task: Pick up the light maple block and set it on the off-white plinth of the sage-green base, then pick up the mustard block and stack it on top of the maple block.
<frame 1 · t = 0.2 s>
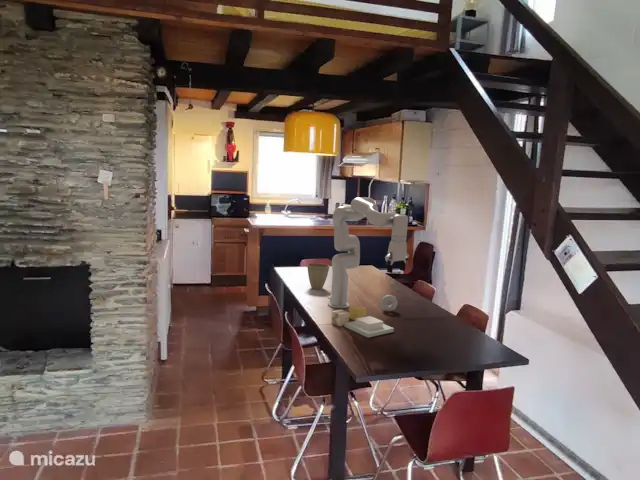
hand: (395, 271, 250), 31 cm above the table, tool pointing down, fingers open, 9 cm apart
donut: (388, 311, 285), on the table
mustard block: (357, 318, 268), on the table
maple block: (339, 323, 258), on the table
base: (368, 329, 252), on the table
plant pot: (316, 288, 327), on the table
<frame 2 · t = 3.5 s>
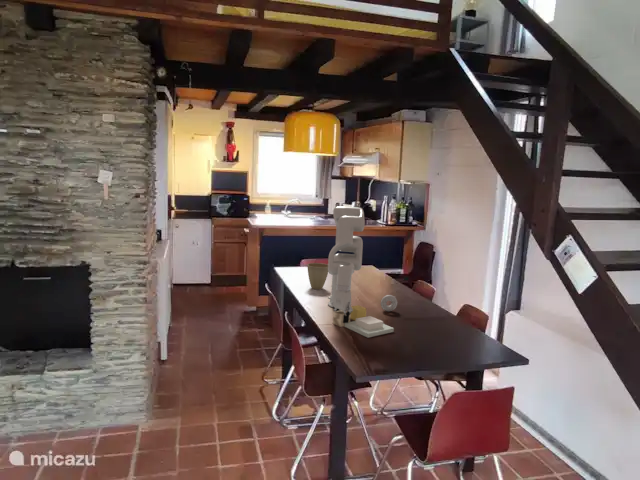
hand: (341, 320, 256), 2 cm above the table, tool pointing down, fingers closed on maple block, 6 cm apart
maple block: (341, 324, 257), on the table, touching gripper
everything else where it was.
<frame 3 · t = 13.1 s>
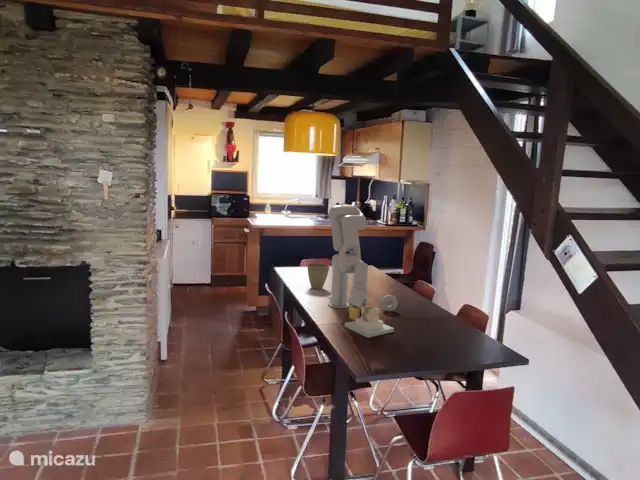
hand: (357, 316, 268), 1 cm above the table, tool pointing down, fingers closed on mustard block, 6 cm apart
mustard block: (357, 318, 268), on the table, touching gripper
maple block: (369, 319, 251), point 5 cm above the table, touching base
everything else where it was.
when the fingers open (14 cm above the table, at t = 17.9 s): mustard block drops 1 cm, resting on maple block.
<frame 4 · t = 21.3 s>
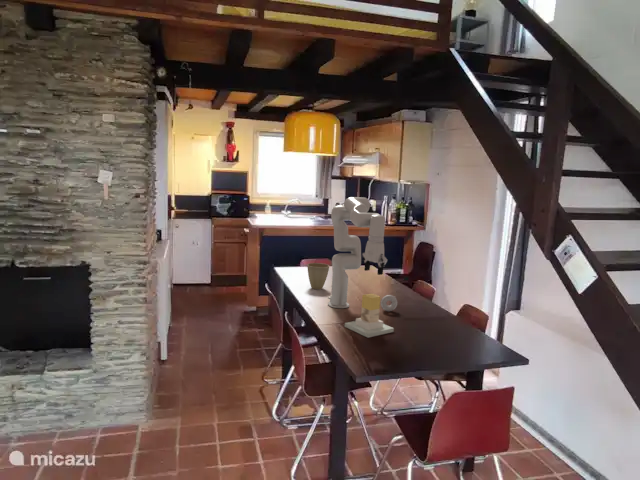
hand: (373, 272, 247), 30 cm above the table, tool pointing down, fingers open, 9 cm apart
mustard block: (370, 307, 250), point 11 cm above the table, touching maple block
maple block: (369, 319, 251), point 5 cm above the table, touching base, mustard block
everything else where it was.
at the end: maple block 0.2 cm off-centre on the base, point 5.0 cm above the base's base; mustard block 0.0 cm off-centre on the base, point 11.5 cm above the base's base; mustard block tilted 0° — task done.
